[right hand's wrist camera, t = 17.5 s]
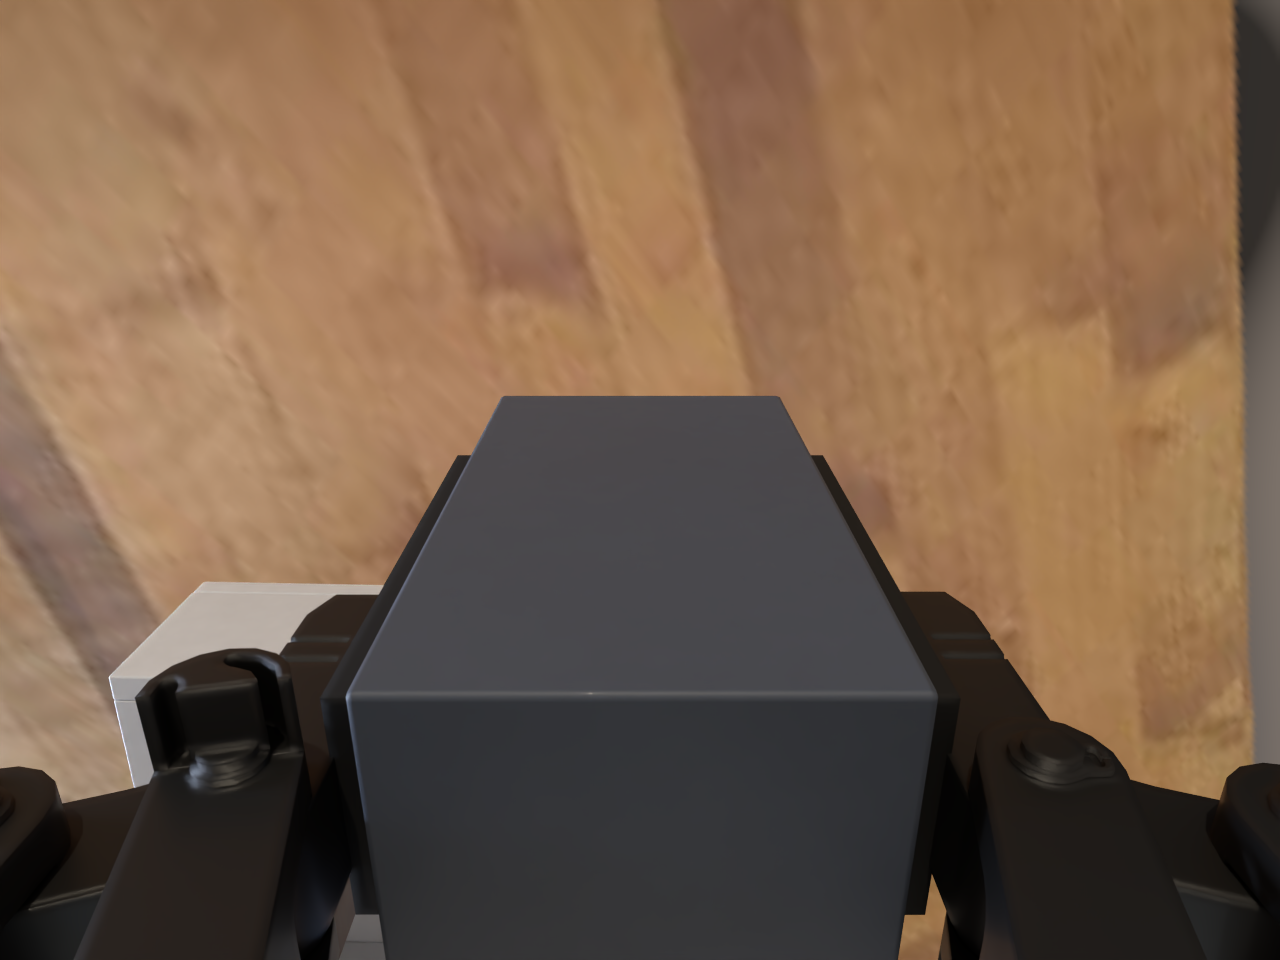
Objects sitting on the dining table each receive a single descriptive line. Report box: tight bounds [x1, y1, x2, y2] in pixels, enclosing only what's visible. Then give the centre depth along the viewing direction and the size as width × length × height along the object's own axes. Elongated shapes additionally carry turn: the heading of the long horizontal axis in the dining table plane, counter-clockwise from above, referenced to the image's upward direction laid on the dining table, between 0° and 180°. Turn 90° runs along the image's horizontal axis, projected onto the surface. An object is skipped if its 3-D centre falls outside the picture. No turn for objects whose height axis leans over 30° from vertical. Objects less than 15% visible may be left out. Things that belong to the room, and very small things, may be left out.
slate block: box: [346, 396, 938, 960], centre depth 11 cm, size 4×4×8 cm
